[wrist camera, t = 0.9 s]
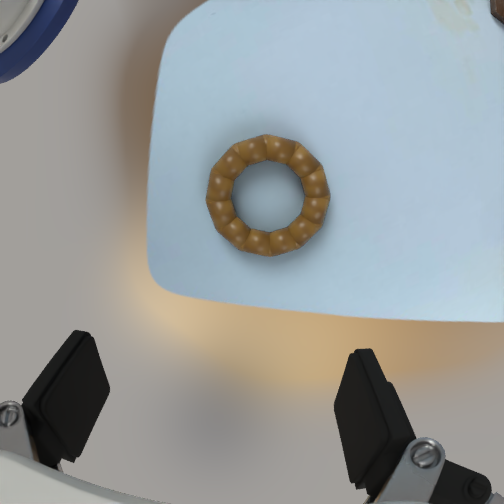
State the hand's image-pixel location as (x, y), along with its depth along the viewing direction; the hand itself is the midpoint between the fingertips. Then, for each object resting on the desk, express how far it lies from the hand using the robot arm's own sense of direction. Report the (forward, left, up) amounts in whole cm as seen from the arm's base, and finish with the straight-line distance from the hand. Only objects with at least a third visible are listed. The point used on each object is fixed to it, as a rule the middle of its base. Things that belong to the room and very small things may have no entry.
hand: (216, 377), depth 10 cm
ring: (+1, +4, -14) cm, 14 cm away
